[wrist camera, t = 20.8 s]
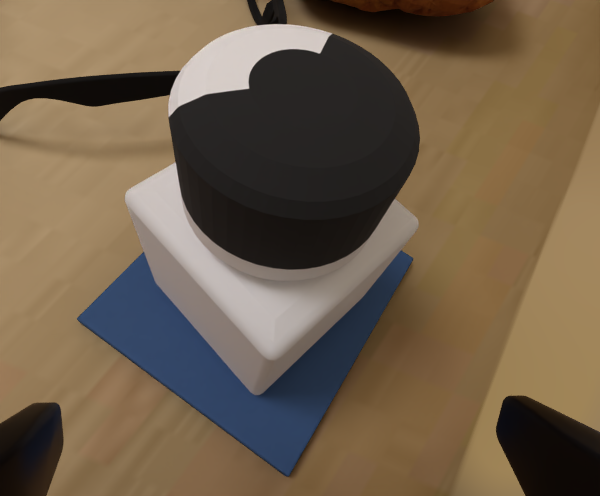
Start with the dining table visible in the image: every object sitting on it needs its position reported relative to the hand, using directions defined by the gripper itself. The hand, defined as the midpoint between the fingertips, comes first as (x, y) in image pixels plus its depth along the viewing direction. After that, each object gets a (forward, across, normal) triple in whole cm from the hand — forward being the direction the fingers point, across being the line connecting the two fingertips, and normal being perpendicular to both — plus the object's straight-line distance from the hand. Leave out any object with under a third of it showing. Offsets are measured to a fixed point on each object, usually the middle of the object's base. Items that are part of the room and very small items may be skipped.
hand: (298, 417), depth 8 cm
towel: (+12, 0, +2) cm, 12 cm away
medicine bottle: (+12, 0, +2) cm, 12 cm away
